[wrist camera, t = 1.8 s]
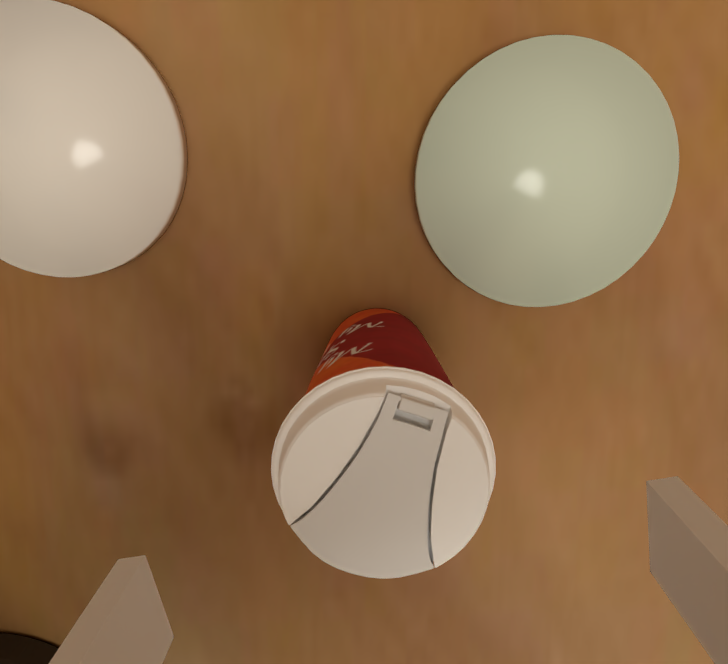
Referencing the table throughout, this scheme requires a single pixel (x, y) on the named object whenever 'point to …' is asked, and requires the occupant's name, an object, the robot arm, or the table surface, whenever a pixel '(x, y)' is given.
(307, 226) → the table surface
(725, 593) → the robot arm
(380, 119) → the table surface
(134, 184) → the white dish
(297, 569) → the table surface
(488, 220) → the sage dish
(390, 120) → the table surface
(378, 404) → the paper cup
